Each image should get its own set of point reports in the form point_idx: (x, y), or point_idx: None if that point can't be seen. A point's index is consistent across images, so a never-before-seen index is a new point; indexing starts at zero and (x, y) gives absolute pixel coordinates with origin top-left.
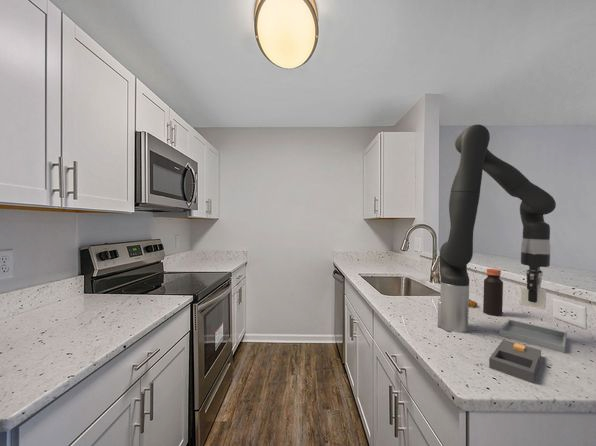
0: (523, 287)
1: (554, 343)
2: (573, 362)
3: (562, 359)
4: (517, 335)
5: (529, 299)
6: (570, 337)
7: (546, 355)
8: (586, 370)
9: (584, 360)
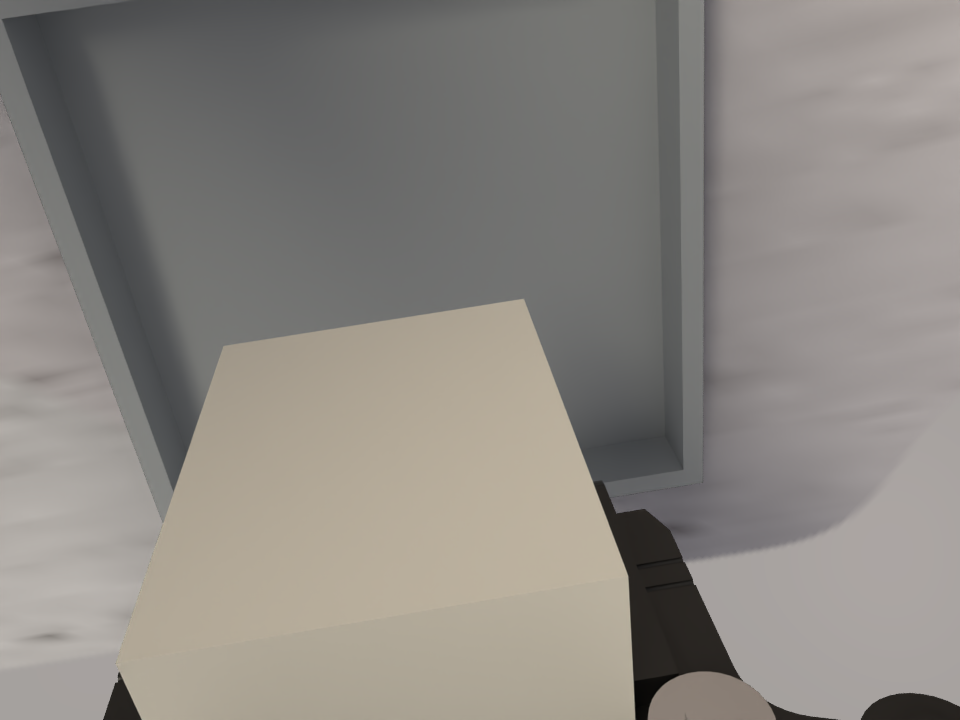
0: (297, 659)
1: None
2: (90, 581)
3: (62, 530)
4: (50, 209)
5: None
6: (798, 437)
7: (6, 445)
8: (19, 650)
9: None
